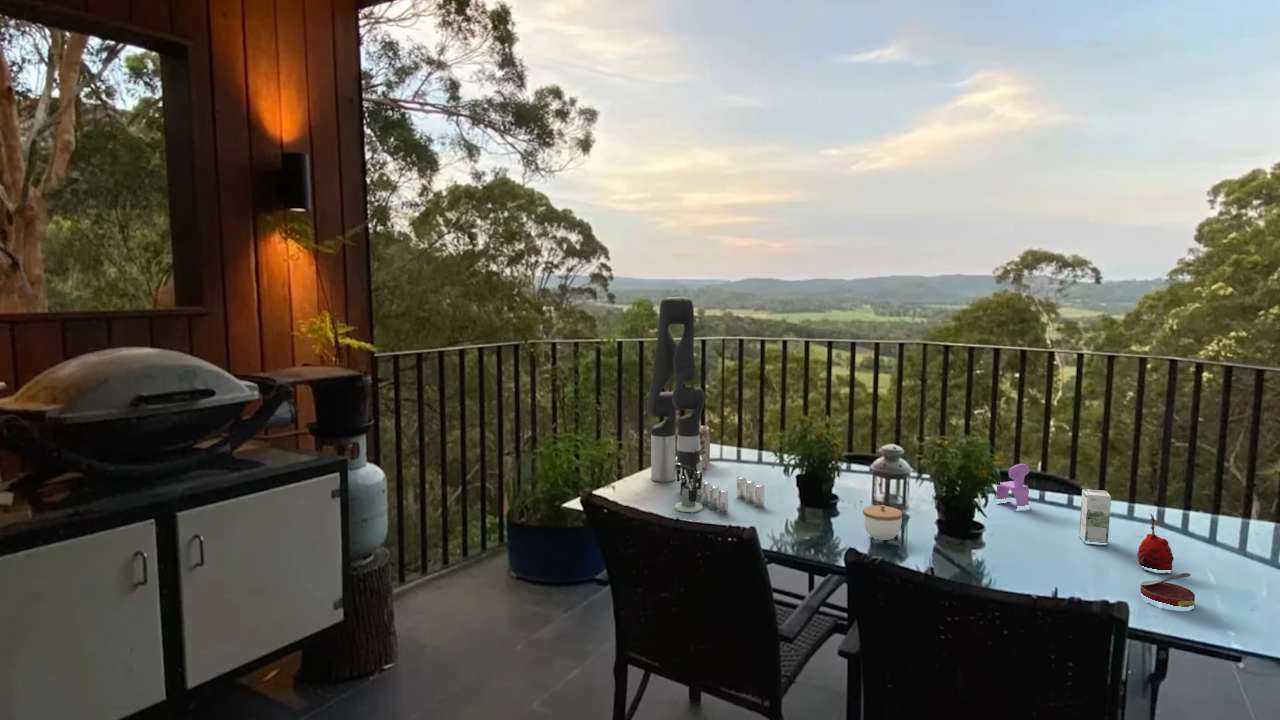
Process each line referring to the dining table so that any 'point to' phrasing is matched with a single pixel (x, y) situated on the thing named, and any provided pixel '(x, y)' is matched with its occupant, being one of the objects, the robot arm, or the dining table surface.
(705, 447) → the decorative jar
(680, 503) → the saucer
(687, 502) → the grey upright block
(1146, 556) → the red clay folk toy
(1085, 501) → the syrup box
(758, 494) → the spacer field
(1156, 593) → the canned food
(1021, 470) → the toy chair
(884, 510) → the lidded jar
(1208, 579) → the dining table surface
